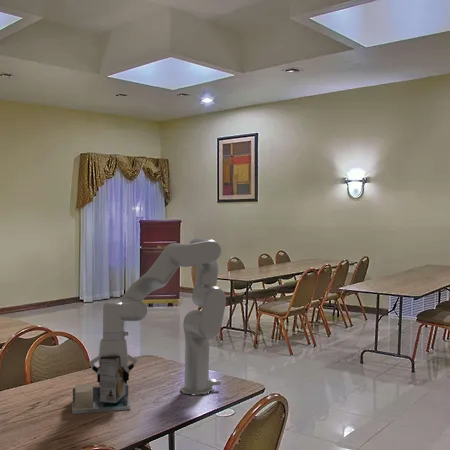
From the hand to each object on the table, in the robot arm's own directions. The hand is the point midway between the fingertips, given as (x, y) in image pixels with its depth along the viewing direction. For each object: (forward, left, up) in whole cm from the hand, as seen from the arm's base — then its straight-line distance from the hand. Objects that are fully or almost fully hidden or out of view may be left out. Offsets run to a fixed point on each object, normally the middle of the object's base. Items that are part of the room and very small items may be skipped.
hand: (113, 383), depth 196 cm
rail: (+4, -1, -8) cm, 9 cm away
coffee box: (0, 0, -6) cm, 6 cm away
